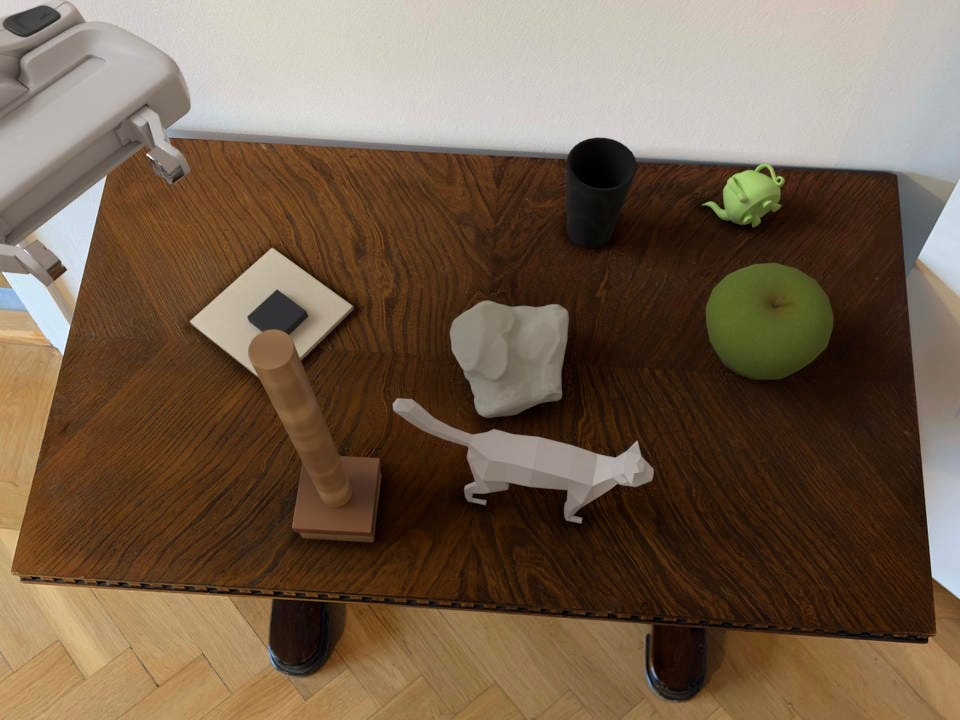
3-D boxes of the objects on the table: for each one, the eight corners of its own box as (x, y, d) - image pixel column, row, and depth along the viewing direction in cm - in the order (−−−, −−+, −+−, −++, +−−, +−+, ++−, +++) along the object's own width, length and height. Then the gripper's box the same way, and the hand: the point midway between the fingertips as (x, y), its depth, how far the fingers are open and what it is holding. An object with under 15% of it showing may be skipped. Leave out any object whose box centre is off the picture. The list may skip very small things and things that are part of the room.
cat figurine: (630, 538, 71) (662, 480, 59) (399, 490, 73) (383, 425, 61) (636, 488, 73) (669, 422, 61) (412, 443, 75) (398, 370, 63)
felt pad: (278, 345, 79) (276, 339, 78) (249, 322, 80) (246, 316, 79) (308, 316, 80) (307, 311, 80) (279, 294, 82) (276, 288, 81)
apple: (795, 303, 82) (833, 242, 73) (817, 402, 77) (861, 349, 68) (683, 305, 82) (708, 244, 73) (698, 404, 77) (727, 351, 68)
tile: (272, 389, 78) (271, 386, 77) (191, 324, 81) (189, 321, 80) (354, 309, 82) (353, 306, 81) (273, 250, 85) (272, 247, 84)
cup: (547, 239, 85) (554, 173, 77) (575, 195, 88) (585, 127, 79) (604, 265, 84) (618, 201, 75) (631, 220, 87) (648, 153, 78)
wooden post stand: (375, 545, 71) (319, 403, 46) (299, 540, 71) (202, 397, 46) (384, 472, 74) (335, 303, 49) (311, 469, 74) (225, 298, 49)
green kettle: (750, 184, 89) (766, 147, 84) (781, 221, 86) (799, 185, 81) (701, 206, 87) (714, 169, 82) (730, 244, 85) (746, 208, 80)
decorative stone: (475, 435, 74) (448, 333, 69) (462, 389, 82) (436, 295, 78) (595, 402, 74) (575, 298, 70) (570, 359, 82) (550, 264, 78)
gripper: (-212, 177, 47) (-66, 310, 43) (82, -17, 54) (230, 81, 50) (-139, 243, 53) (-3, 367, 48) (119, 59, 60) (255, 154, 56)
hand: (118, 220), depth 49 cm, fingers open, 8 cm apart
